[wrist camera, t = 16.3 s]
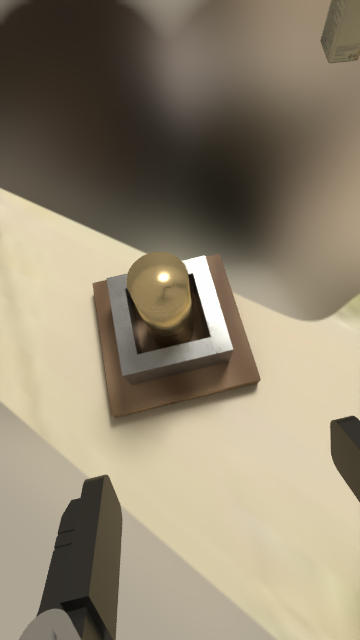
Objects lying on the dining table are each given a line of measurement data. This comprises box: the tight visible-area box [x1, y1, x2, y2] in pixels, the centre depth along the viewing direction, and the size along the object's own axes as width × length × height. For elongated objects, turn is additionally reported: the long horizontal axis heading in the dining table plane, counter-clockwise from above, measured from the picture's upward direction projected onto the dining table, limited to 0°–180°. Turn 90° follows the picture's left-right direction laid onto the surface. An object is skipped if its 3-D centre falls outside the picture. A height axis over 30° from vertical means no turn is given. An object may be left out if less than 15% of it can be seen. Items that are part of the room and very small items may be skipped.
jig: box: [93, 254, 261, 417], centre depth 31 cm, size 14×14×6 cm
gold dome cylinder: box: [127, 252, 194, 348], centre depth 27 cm, size 4×4×10 cm
